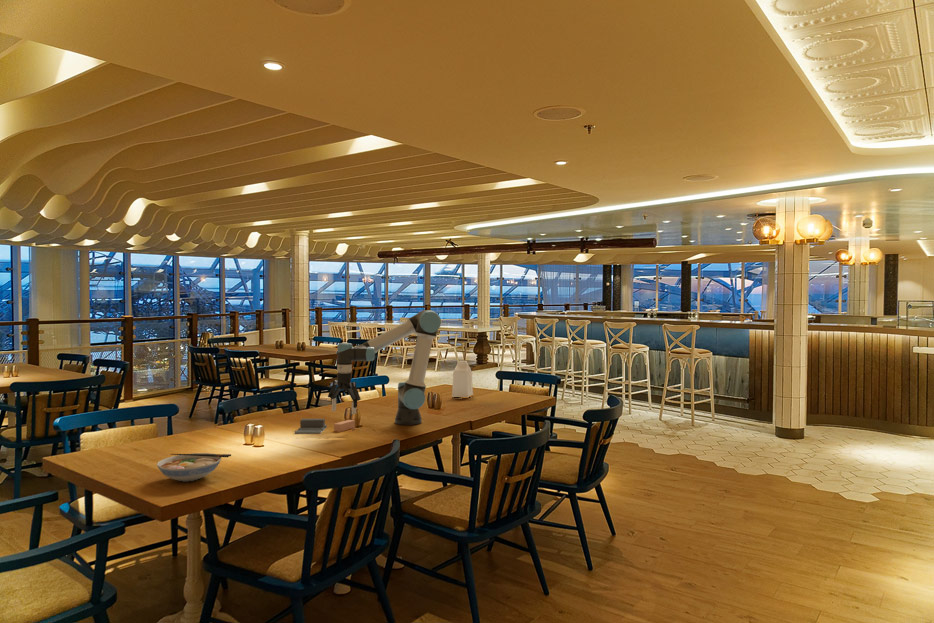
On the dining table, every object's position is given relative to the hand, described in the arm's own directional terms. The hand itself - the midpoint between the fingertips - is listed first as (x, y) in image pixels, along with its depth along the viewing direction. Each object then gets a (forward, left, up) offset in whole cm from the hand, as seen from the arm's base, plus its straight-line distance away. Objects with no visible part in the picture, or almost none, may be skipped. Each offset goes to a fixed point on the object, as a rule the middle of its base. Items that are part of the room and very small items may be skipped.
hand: (343, 412), depth 314 cm
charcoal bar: (+17, -1, -9) cm, 19 cm away
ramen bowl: (+44, +84, -10) cm, 95 cm away
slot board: (+17, +2, -10) cm, 20 cm away
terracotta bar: (0, 0, -10) cm, 10 cm away
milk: (-64, -110, -10) cm, 128 cm away
